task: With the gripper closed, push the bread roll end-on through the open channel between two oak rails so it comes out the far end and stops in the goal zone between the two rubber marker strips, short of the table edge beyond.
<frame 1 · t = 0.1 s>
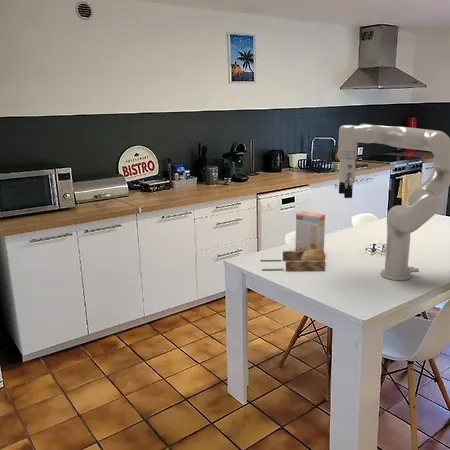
hand: (345, 195, 192), 37 cm above the table, tool pointing down, fingers open, 9 cm apart
cracker box: (309, 252, 234), on the table
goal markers: (271, 265, 217), on the table
bread roll: (313, 265, 216), on the table
channel: (303, 265, 216), on the table
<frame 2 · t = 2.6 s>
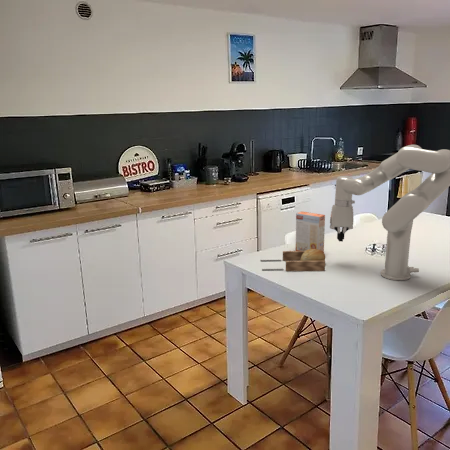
hand: (340, 240, 213), 12 cm above the table, tool pointing down, fingers closed
nothing on the table moved.
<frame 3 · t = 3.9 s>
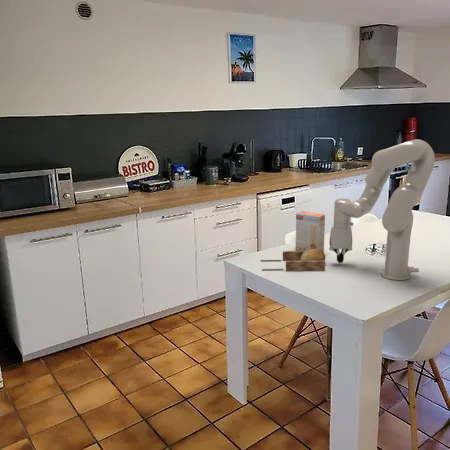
hand: (340, 262, 215), 1 cm above the table, tool pointing down, fingers closed
nothing on the table moved.
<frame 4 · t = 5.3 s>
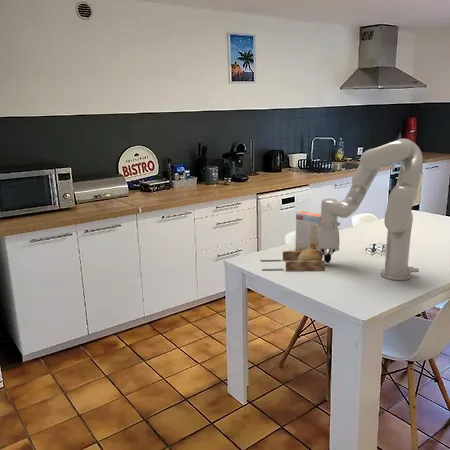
hand: (327, 262, 215), 1 cm above the table, tool pointing down, fingers closed
bread roll: (310, 265, 216), on the table, touching gripper
everything else where it was.
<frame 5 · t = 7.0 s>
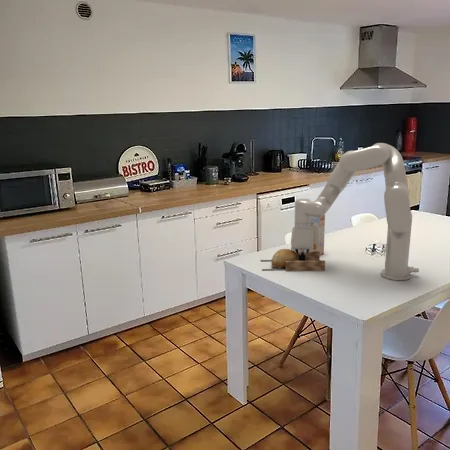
hand: (301, 261, 216), 2 cm above the table, tool pointing down, fingers closed
bread roll: (285, 265, 216), on the table, touching gripper
everything else where it was.
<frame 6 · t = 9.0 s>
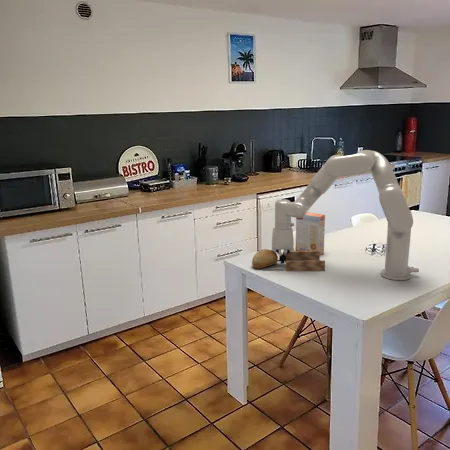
hand: (282, 262, 216), 1 cm above the table, tool pointing down, fingers closed
bread roll: (265, 266, 217), on the table, touching gripper
everything else where it was.
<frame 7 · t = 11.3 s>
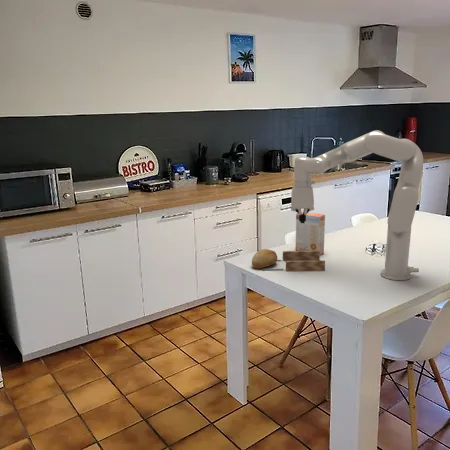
hand: (302, 222, 211), 21 cm above the table, tool pointing down, fingers closed
bread roll: (265, 266, 217), on the table
everything else where it was.
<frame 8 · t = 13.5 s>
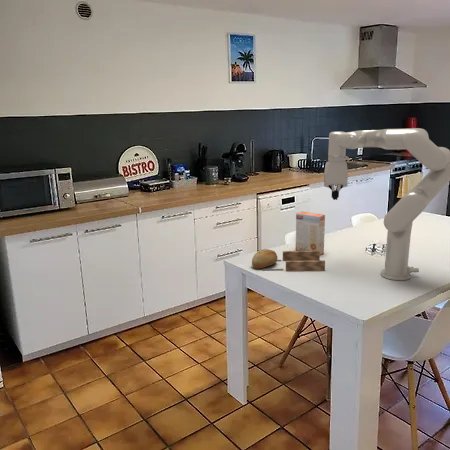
hand: (335, 199, 208), 32 cm above the table, tool pointing down, fingers closed
nothing on the table moved.
at the end: bread roll inside the target area (0.3 cm from its centre), on the table; bread roll moved 23.1 cm from its start; bread roll touching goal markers, table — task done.
